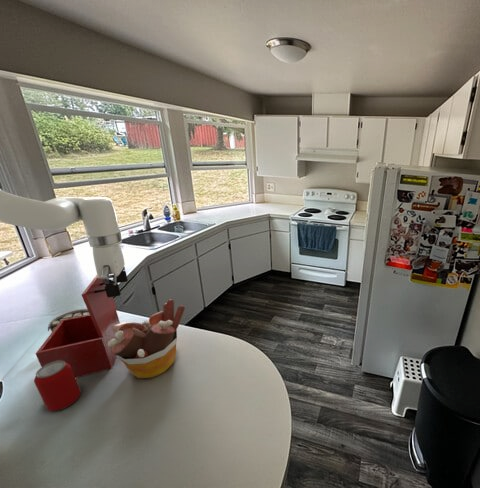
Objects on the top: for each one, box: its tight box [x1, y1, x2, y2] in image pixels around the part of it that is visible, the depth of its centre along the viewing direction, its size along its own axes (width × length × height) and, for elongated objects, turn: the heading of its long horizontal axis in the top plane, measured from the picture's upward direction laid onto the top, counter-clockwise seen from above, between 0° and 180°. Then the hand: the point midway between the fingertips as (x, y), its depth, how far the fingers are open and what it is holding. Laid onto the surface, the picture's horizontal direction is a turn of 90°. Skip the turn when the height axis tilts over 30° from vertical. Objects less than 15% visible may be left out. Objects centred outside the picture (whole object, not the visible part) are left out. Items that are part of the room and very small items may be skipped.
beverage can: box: [33, 361, 82, 412], centre depth 67 cm, size 7×7×12 cm
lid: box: [81, 274, 119, 338], centre depth 81 cm, size 15×17×6 cm
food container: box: [47, 308, 90, 333], centre depth 91 cm, size 12×6×10 cm, turn 134°
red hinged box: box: [35, 310, 121, 379], centre depth 82 cm, size 15×17×12 cm
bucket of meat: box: [108, 298, 186, 379], centre depth 79 cm, size 20×16×20 cm
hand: (118, 288), depth 81 cm, fingers open, 9 cm apart
